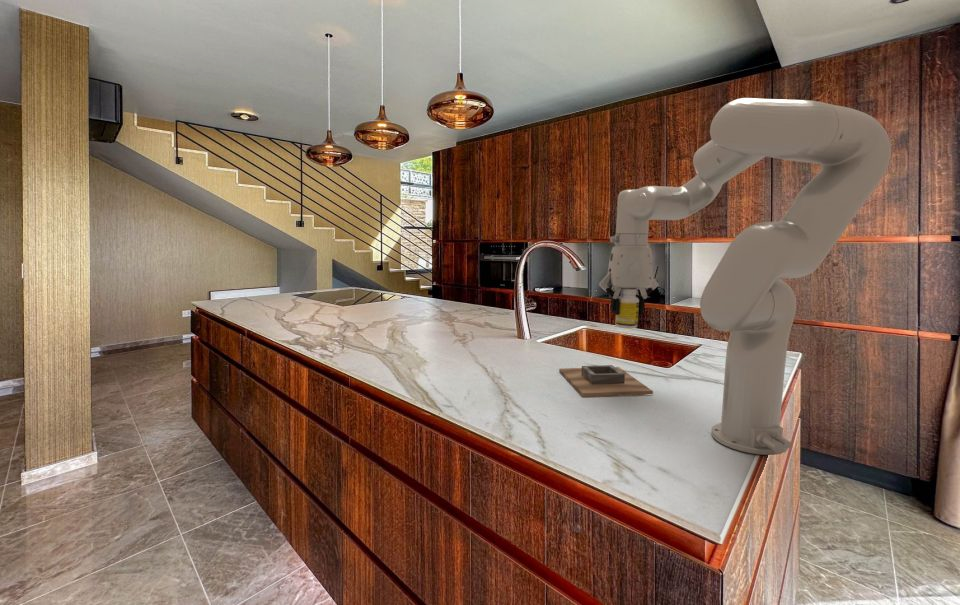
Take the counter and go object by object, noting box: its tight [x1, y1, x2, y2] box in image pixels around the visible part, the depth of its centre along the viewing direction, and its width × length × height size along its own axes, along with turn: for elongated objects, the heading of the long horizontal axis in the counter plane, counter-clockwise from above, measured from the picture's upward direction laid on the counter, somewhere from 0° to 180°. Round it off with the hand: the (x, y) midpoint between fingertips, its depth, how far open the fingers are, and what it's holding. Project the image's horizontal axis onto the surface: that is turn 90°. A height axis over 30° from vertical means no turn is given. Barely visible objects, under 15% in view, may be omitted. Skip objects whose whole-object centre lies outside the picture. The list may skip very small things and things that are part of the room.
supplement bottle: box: [614, 288, 639, 329], centre depth 113 cm, size 5×5×10 cm
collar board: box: [558, 364, 654, 398], centre depth 122 cm, size 22×18×4 cm
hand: (627, 313), depth 113 cm, fingers closed on supplement bottle, 5 cm apart
